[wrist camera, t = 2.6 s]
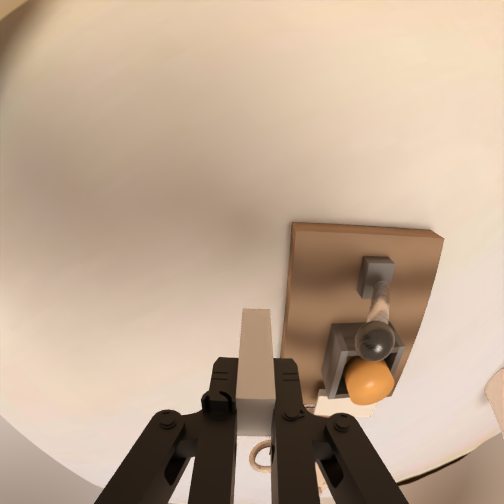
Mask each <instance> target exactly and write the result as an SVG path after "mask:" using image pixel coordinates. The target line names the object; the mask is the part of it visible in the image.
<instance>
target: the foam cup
mask: <svg viewBox="0 0 504 504" xmlns="http://www.w3.org/2000/svg"><path fill="white" fill-rule="evenodd" d="M485 393H486V396H487V398H488V400H489V402H490V404H491V407H492V409H493V411H494V414H495V416H496V418H497V421H498V423H499V426H500V428H501V431H502V433H503V439H504V368H503V369H501V370H500V371H498V372H497V373H496V374H495V375H494V376H493V377H492V378H491V379H490V381H489V382H488V384H487V385H486V388H485Z"/></svg>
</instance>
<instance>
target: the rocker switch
mask: <svg viewBox="0 0 504 504" xmlns="http://www.w3.org/2000/svg"><path fill="white" fill-rule="evenodd" d="M377 403H378V402H376V403H374V404H370V405H364V406H361V405H356V404H354V403H353V402H352V401H351V399H350V398H340V399H328V397H327V393H326V389H319V392H318V396H317V400H316V404H315V407H314V415H326V416H331V415H333V414H335V413H348V414H350V415H352V416H353V417H371V416H372V414H373V412H374V410H375V408H376V405H377Z"/></svg>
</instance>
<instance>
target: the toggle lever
mask: <svg viewBox="0 0 504 504" xmlns="http://www.w3.org/2000/svg"><path fill="white" fill-rule="evenodd" d="M389 306H390V286H389V284H388V283H387V282H385V281H379V282H377V283H376V284H375V285H374V287H373V293H372V298H371V303H370V309H369V314H368V319H367V323H365V324H364V325H362V326H361V327H360V328H359V330H358V331H357V333H356V335H355V339H354V346H355V350H356V352H357V354H358V355H359V356H360V357H361V358H362V359H364V360H366V361H369V362H377V361H381V360H383V359H385V358H386V357H387V356H388V355H389V354H390V353H391V351H392V349H393V347H394V343H395V336H394V333H393V331H392V329H391V327H390V326H389V325H388V319H389Z"/></svg>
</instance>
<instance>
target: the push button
mask: <svg viewBox="0 0 504 504" xmlns="http://www.w3.org/2000/svg"><path fill="white" fill-rule="evenodd" d="M342 373H343V377H344V380H345V383H346V387H347V390H348V393H349V396H350V399H351V401H352V402H353V403H354V404H356V405H361V406H364V405H370V404H374V403H376V402H378V401H380V400H382V399H384V398H385V397H386V396H387V395H388V394H389V393H390V392H391V391H392V389H393V387H394V379H393V376H392V374H391V372H390V370H389V368H388V366H387V364H386V362H385V360H384V359H383V360H381V361H377V362H369V361H366V360H364V359H362V358H361V357H360V356H353V357H352V358H351V359H349V360H348V361H347V363H346V364H345V365H344V369H343V372H342Z"/></svg>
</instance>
